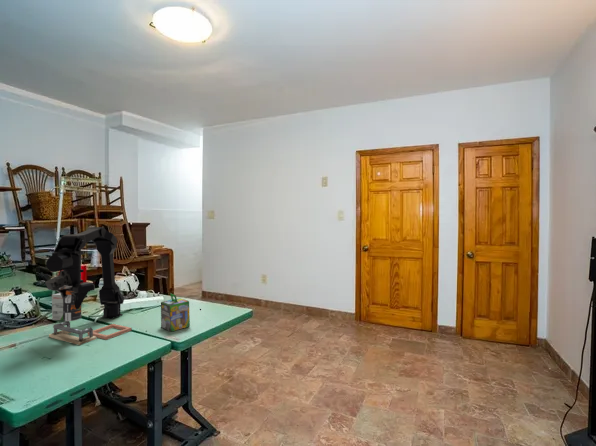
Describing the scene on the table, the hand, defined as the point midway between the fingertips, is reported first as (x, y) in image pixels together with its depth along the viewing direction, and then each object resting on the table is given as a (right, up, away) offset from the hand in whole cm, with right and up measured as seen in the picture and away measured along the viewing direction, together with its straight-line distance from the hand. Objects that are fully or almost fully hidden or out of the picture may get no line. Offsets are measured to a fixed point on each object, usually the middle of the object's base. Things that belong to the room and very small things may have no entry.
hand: (72, 307), depth 128 cm
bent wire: (-2, -13, +5) cm, 14 cm away
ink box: (-22, -12, +27) cm, 37 cm away
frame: (+9, -13, +10) cm, 19 cm away
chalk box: (+33, -13, +17) cm, 40 cm away
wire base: (-2, -13, +5) cm, 14 cm away
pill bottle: (0, -5, 0) cm, 5 cm away
